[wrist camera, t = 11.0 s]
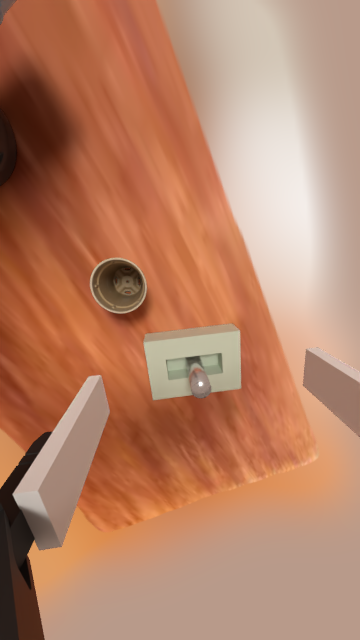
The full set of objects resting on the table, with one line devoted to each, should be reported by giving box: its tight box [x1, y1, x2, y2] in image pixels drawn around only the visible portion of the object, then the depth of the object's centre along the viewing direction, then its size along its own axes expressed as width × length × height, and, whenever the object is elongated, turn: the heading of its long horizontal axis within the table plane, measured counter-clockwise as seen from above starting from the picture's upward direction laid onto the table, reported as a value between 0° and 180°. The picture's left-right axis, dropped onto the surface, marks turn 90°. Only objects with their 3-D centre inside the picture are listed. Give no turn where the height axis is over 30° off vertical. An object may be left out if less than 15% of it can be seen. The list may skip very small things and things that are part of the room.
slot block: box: [143, 324, 241, 400], centre depth 46 cm, size 14×20×5 cm
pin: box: [185, 356, 211, 398], centre depth 42 cm, size 4×4×12 cm
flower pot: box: [90, 258, 147, 313], centre depth 39 cm, size 9×9×9 cm
